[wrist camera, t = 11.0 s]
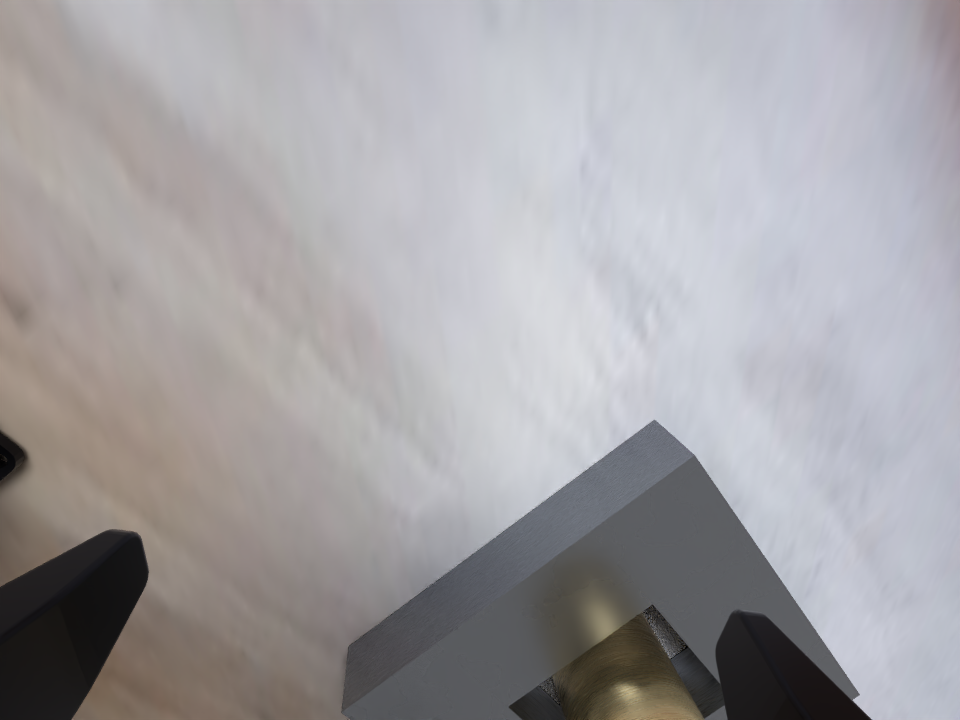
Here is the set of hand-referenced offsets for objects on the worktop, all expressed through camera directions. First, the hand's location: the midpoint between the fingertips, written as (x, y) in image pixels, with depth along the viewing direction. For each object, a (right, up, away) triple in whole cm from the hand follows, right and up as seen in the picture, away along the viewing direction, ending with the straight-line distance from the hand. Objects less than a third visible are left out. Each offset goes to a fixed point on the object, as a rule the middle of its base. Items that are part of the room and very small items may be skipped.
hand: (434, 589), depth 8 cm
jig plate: (+6, -10, +16) cm, 20 cm away
